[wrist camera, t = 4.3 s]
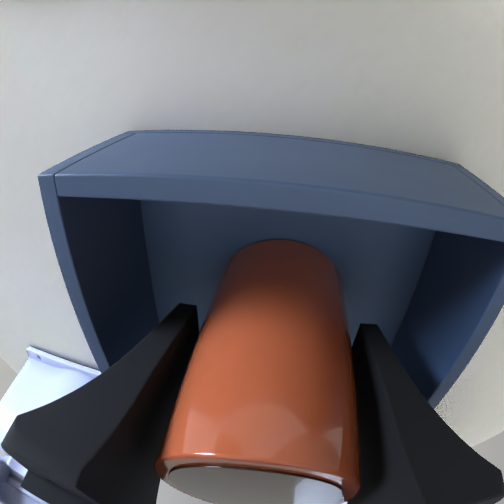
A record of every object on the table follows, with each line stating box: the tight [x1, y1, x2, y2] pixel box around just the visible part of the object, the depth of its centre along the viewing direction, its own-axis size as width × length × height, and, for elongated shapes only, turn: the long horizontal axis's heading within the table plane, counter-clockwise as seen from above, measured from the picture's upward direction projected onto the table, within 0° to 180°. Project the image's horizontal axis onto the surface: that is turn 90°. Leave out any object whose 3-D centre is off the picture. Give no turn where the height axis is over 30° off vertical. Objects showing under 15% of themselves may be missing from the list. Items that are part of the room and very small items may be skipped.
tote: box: [38, 130, 504, 409], centre depth 11 cm, size 12×12×5 cm
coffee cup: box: [154, 239, 361, 504], centre depth 9 cm, size 5×5×8 cm
